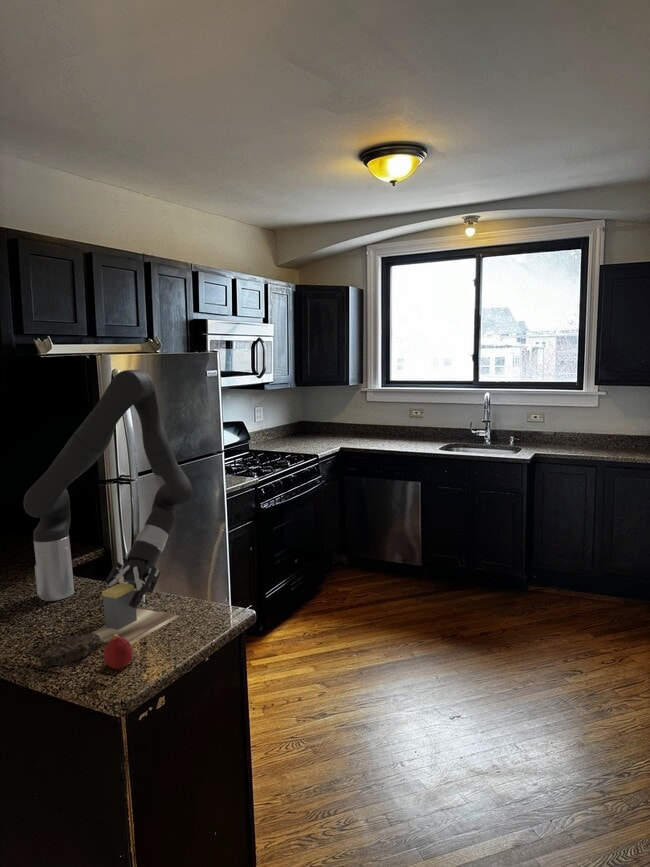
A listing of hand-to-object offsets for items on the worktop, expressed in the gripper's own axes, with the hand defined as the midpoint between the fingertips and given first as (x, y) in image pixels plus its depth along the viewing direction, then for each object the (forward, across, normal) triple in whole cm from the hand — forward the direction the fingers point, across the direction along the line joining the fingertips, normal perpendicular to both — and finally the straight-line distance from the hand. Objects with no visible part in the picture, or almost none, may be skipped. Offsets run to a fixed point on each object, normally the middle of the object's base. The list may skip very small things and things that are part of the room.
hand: (119, 604), depth 145 cm
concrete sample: (+16, +1, -6) cm, 17 cm away
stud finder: (+3, 0, +4) cm, 5 cm away
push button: (-13, -20, +22) cm, 32 cm away
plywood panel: (+4, +4, +4) cm, 7 cm away
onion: (+16, +16, -7) cm, 23 cm away
